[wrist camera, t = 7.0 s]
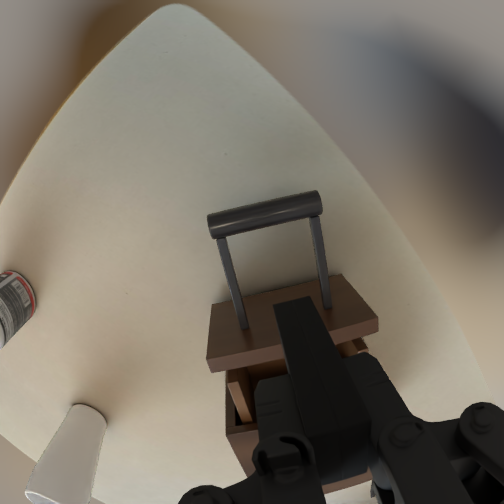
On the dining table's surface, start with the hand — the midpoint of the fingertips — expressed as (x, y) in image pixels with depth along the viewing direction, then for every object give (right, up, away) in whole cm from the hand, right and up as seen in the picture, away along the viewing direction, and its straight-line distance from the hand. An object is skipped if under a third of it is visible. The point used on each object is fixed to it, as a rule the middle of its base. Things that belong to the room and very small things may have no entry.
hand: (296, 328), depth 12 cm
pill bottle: (-27, -1, +14) cm, 30 cm away
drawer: (+1, -2, +15) cm, 15 cm away
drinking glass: (-22, -18, +19) cm, 34 cm away
